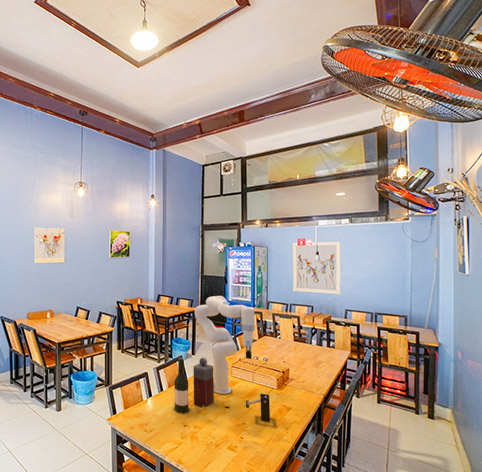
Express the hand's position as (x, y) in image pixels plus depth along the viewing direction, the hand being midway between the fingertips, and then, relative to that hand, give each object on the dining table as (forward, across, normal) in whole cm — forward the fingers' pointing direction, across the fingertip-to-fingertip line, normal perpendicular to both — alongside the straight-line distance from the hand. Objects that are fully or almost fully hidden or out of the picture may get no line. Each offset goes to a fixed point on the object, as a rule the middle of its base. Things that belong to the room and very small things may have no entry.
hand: (248, 358), depth 189 cm
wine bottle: (+29, +17, -38) cm, 51 cm away
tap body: (+29, +14, +8) cm, 33 cm away
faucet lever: (+20, +14, +4) cm, 25 cm away
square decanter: (+29, +5, -26) cm, 39 cm away
